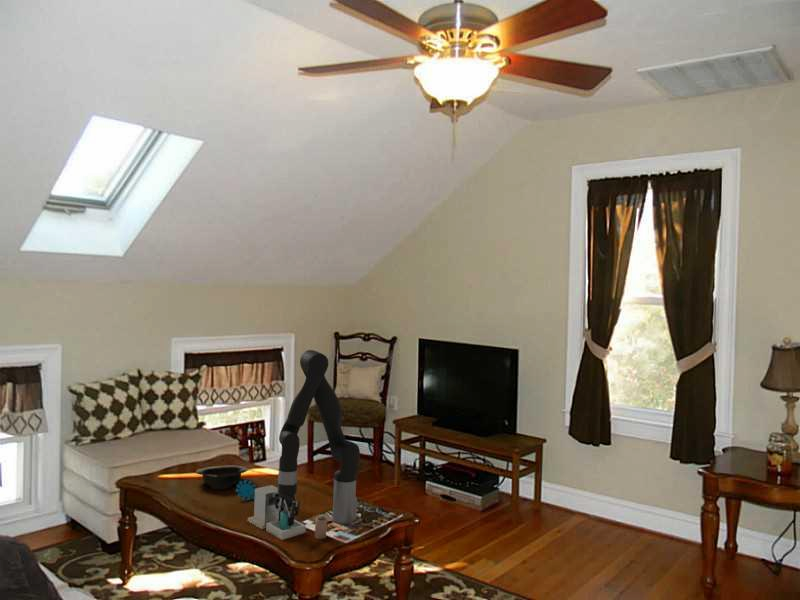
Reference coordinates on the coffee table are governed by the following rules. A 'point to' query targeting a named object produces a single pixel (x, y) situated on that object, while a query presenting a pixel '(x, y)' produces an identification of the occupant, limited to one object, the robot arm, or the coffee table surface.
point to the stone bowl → (222, 476)
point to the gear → (246, 490)
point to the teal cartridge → (284, 520)
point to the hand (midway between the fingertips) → (286, 523)
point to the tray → (276, 531)
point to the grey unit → (264, 506)
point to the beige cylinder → (320, 527)
